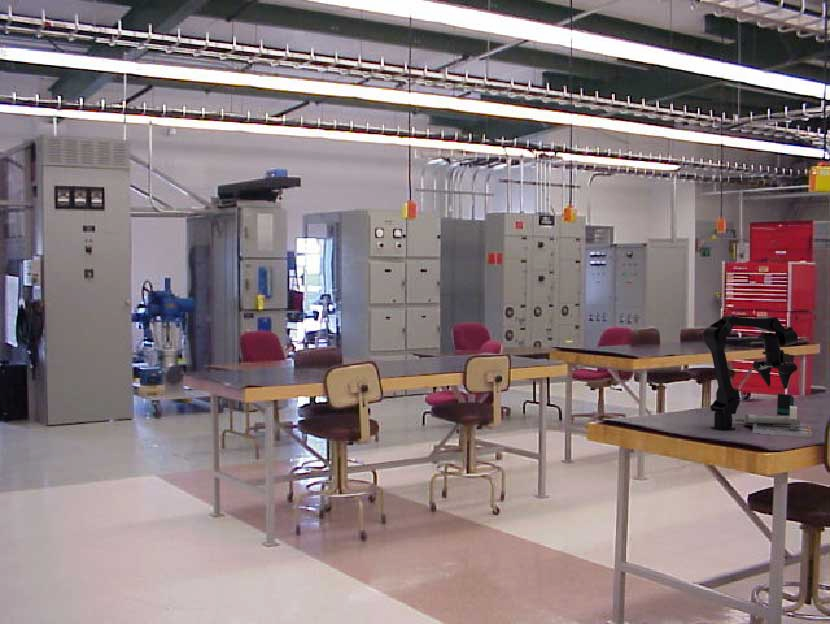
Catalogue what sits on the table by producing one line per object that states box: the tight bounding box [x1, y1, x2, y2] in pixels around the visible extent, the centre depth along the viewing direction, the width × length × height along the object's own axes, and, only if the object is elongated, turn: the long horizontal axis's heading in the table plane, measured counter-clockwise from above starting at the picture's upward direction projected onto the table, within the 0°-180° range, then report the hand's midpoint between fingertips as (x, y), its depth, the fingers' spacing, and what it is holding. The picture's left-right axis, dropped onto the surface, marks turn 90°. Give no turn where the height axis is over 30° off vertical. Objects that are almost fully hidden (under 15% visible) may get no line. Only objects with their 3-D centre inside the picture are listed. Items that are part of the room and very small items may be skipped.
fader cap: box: [790, 406, 798, 430], centre depth 318 cm, size 2×4×8 cm, turn 156°
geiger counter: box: [732, 412, 802, 428], centre depth 331 cm, size 14×6×25 cm
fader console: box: [752, 423, 813, 439], centre depth 319 cm, size 20×11×2 cm, turn 66°
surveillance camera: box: [776, 393, 795, 416], centre depth 345 cm, size 6×12×10 cm
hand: (777, 387), depth 335 cm, fingers open, 9 cm apart
